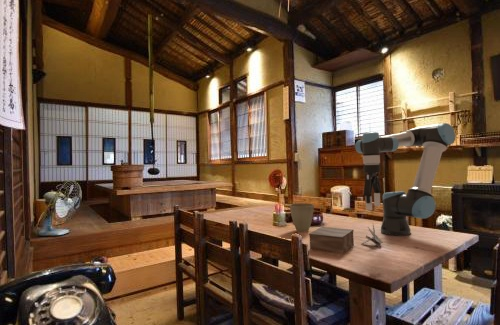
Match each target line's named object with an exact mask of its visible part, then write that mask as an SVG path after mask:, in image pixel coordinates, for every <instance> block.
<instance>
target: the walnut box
mask: <svg viewBox="0 0 500 325" xmlns="http://www.w3.org/2000/svg"><path fill="white" fill-rule="evenodd" d="M308 235H309V249H310V250H311V249H312V251H319V252H325V253H332V254H339V255H344V254H345V253H347V252H348V251H349V250H350V249H351V248H353V247H354V246H355V243H354V241H355V240H354V229H351V228H350V229H349V228H341V227H340V228H339V227H329V226H321V227H319V228H316V229H314V230H313V231H310V232H309V233H308Z"/></svg>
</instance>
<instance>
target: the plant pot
mask: <svg viewBox="0 0 500 325" xmlns="http://www.w3.org/2000/svg"><path fill="white" fill-rule="evenodd" d="M314 208H315V204H313V203H304V202H299V203H292V204H289V211H290V216H291V219H292V221H293V226H294V228H295V230H296V232H299V233H307V232H309V230H310V227H311V224H312V220H313V216H314V211H315V210H314Z"/></svg>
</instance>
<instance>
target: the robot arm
mask: <svg viewBox="0 0 500 325" xmlns="http://www.w3.org/2000/svg"><path fill="white" fill-rule="evenodd" d="M361 138H362V139H359V140H357V141H356V142H355V144H354V149H355V151H356V152H357V153H358V154H362V158H361V159H362V161H363V162H362V163H363V172H364V173H365V175H364V186H363V189H364V190H363V194H362V195H363V197H365V210H366V211H373V203H374V207H381V194H382V192H383V191H382V189H381V183H380V182H381V181H380V177H379V176H380V175H379V173H381V165H380V164H381V153H387V152H388V153H391V152H395V151H397V149H398V148H400V147H404V148H405V147H407V148H409V147H422V148H424V149H423V152H422V155H421V158H420V161H419V164H418V169H417V172H416V173H415V177H414V181H413V184H412V187H410V188H409V189H408V190H407V192H406V191H405V190H401V191H390V192H389V191H388V192H384V193H383V194H382V211H383V212H382V214H383V220H382V223H381V226H380V233H382V234H385V235H389V236H390V235H391V236H408V235H410V234H411V228H410V225H409V223H408V222H409V221H408V220H407V217H412V218H416V219H428V218H430V217H431V216H433V214H434V213H435V211H436V200H435V198H434V197H433V196H434V195H433V194H432V188H433V185H434V181H435V178H436V175H437V171H438V168H439V165H440V161H441V157H442V154H443V152H446V151H447V149H448V146H449V145H453V144H454V143H455V141H456V132H455V129H454V127H453V126H452V125H451V124H449V123H447V122H444V123H443V122H442V123H439V122H438V123H437V124H428V125H421V126H417V127H414V128H411V129H408V130H406V129H405V130H403V131H401V132H399V133H394V134H387V135H382V136H380V135H379V132H378V131H377V132H376V131H373V132H371V131H370V132H364V133H363V134H362V137H361ZM373 191H374V193H373ZM372 193H373V195H372Z"/></svg>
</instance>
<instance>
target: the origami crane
mask: <svg viewBox="0 0 500 325" xmlns="http://www.w3.org/2000/svg"><path fill="white" fill-rule="evenodd" d="M367 229H368V231H369V233H370V234H371V236H372V237H370V236H368V235H367V234H366V235H365V239H367V240H365V241H363V242H361V243H360V245H364V244H367V243H369V242H372V243H373V244H374V245H376V246H377V247H378V248H380V247H381V246H382V244H383V243H384V241H382V239H380V238H379V236H378V235H377V234H376V230H375V225H374V224H372V229H371V228H370V227H368V226H367Z"/></svg>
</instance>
